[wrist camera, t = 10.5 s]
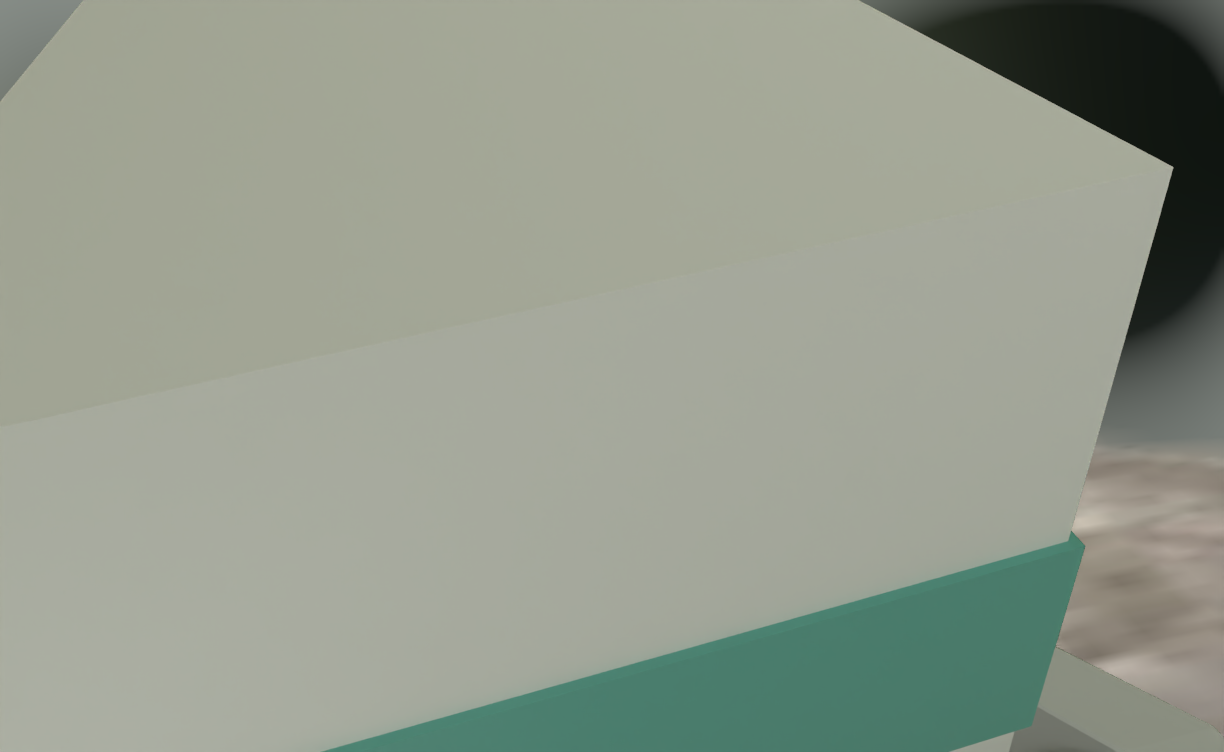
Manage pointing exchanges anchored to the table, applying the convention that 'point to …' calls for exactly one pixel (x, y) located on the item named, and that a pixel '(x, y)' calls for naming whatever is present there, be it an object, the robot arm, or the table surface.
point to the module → (544, 378)
